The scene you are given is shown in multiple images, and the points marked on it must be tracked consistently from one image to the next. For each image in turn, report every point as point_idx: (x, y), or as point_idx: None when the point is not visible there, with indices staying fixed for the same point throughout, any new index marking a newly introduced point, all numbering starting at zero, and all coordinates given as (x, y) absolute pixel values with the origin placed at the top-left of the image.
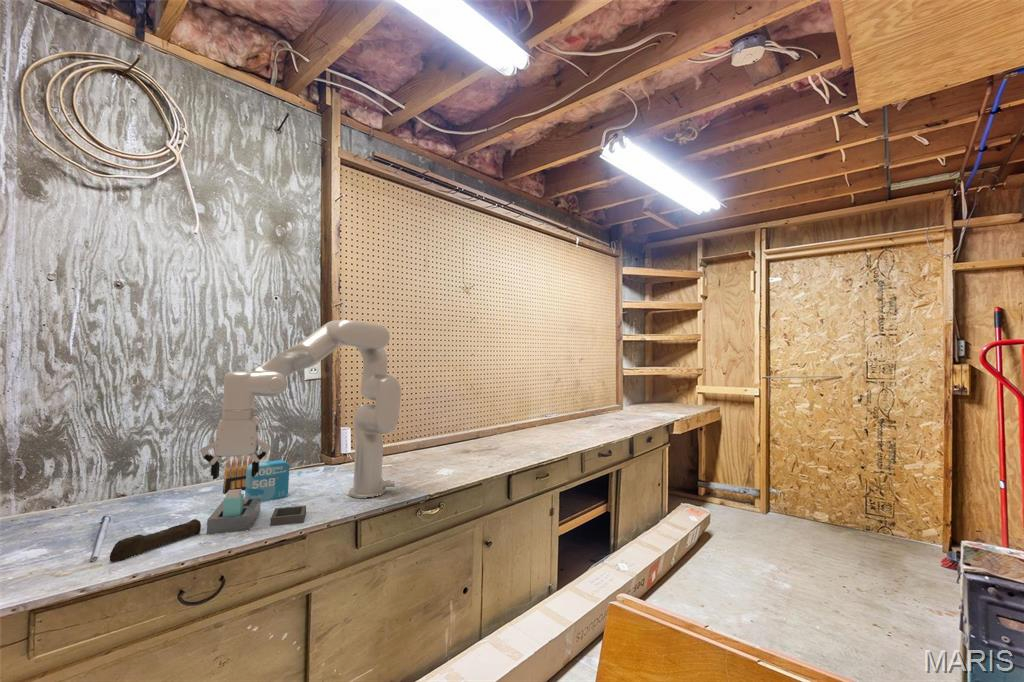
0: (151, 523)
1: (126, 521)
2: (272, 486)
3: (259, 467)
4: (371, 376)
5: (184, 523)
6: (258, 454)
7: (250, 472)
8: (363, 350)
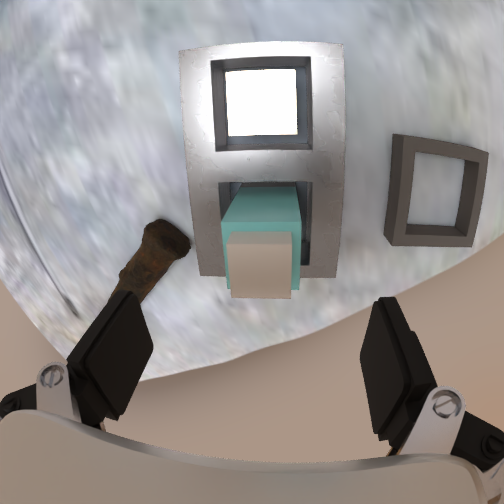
0: (45, 128)
1: (6, 113)
2: None
3: None
4: None
5: (140, 259)
6: (455, 438)
7: None
8: None
